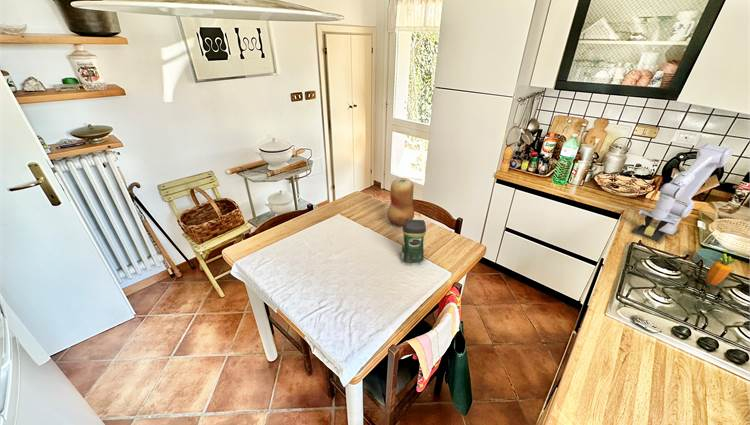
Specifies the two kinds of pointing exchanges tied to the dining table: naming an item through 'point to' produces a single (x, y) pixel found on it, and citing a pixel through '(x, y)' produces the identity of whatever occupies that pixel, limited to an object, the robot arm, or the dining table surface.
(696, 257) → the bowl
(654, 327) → the blueberries
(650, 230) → the butter
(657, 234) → the dark grey flat slab
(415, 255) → the coffee jar
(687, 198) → the robot arm
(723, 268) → the carrot
